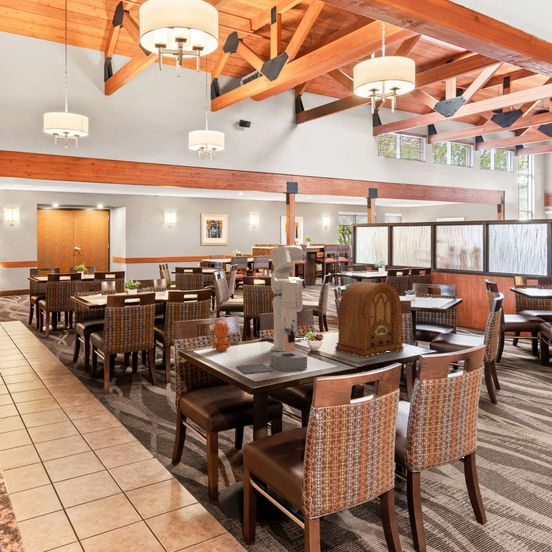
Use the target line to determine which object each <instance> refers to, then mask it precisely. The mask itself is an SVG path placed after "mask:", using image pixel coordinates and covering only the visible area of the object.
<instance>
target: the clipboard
mask: <svg viewBox="0 0 552 552" xmlns="http://www.w3.org/2000/svg"><path fill="white" fill-rule="evenodd" d="M304 337H305V336H301V335H298V334H295V338H304ZM263 338H264V339H268V340H271V339H272V341H274V336H271V337H268V336H264V337H263ZM301 340H304V339H298V340H295V343H302V342H301Z"/></svg>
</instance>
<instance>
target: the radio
mask: <svg viewBox="0 0 552 552" xmlns="http://www.w3.org/2000/svg"><path fill="white" fill-rule="evenodd" d="M402 315H403V312H402V303H401V298H400V295H399V292H398V290H397V289H396V288H395V287H394V286H393V285H391V284H390V283H387V282H367V281H366V282H365V281H355V282H351V284H349V285H348V286H347V287H346V288H345V290H344V291H343V292H342V295H341V297H340V302H339V305H338V337H337V338H338V342H336V343H335V344H336V346H335V347H334V349H335V351H336V350H339V351H338V352H340V351H343V352H342V353H344V352H347V353H346V354H348V353H350V354H349V355H352V354H355V355H354V356H356V355H358V356H357V357H360V356H363V357H362V358H364V357H366V358H368V357H367V356H371V355H372V354H376V355H378V354H377V353H384V352H386V351H397V350H402V349H403V350H404V348H405V347H404V346H403V344H404V343H403V342H402V325H403V324H402V323H403V321H402V320H403V319H402V318H403V317H402ZM403 350H402V351H403ZM397 352H398V351H397ZM386 353H387V352H386ZM384 354H385V353H384ZM372 356H373V355H372ZM372 356H371V357H372Z"/></svg>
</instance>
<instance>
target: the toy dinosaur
mask: <svg viewBox="0 0 552 552" xmlns="http://www.w3.org/2000/svg"><path fill="white" fill-rule="evenodd" d="M218 320H219V321H215V322H214V325H213V335H212V337H211V338H212V339H211V342H212V350H214V351H216V350H217V351H216V352H218V351H224V352H227V350H228V349H230V347H231V344H230V342H231V339H232V334H229V332H230V329H231V328H230V325H228V322H227V321H223V320H222V319H218ZM228 336H229V337H228ZM215 337H216V338H217V340H215ZM227 337H228V338H227ZM226 338H227V340H226Z"/></svg>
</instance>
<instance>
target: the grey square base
mask: <svg viewBox="0 0 552 552" xmlns="http://www.w3.org/2000/svg"><path fill="white" fill-rule="evenodd" d="M270 366H272V367H273V368H277V370H278V371H279V372H287V370H289V371H296V370H295V369H299V370H303V369H302V368H307V369H308V356H306V355H304V354H302V353H300V352H299V351H297V350H295V351H291V352H286V351H284V352H281V351H276V352H270Z"/></svg>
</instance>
